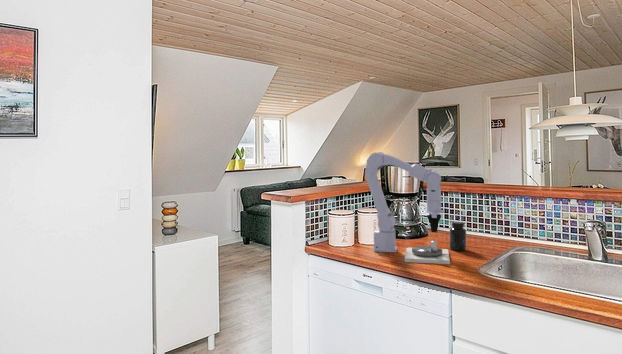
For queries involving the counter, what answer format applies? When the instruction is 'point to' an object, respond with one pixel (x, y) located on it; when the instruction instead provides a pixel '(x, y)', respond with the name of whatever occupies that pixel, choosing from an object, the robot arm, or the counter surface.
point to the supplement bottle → (457, 237)
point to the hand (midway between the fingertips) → (434, 231)
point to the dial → (427, 250)
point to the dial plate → (420, 259)
